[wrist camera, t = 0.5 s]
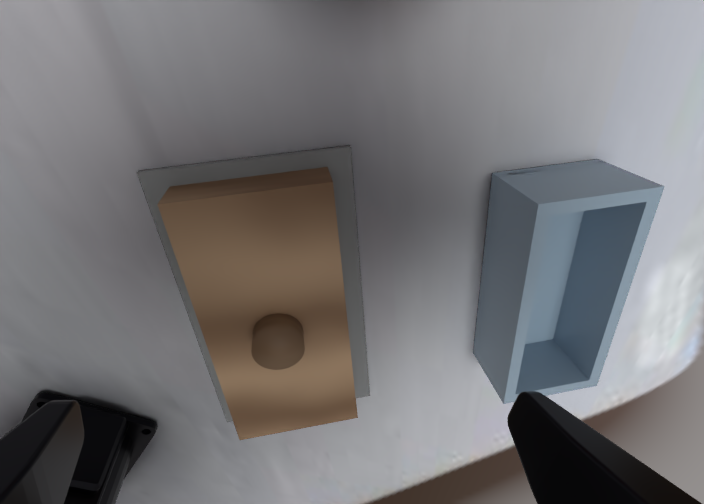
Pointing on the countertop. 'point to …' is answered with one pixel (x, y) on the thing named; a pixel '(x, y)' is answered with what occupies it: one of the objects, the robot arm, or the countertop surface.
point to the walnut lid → (268, 295)
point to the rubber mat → (333, 158)
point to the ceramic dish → (558, 272)
